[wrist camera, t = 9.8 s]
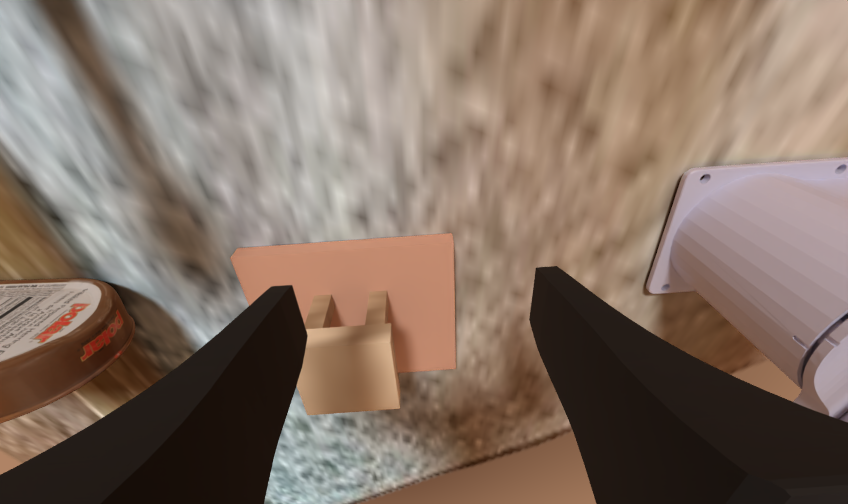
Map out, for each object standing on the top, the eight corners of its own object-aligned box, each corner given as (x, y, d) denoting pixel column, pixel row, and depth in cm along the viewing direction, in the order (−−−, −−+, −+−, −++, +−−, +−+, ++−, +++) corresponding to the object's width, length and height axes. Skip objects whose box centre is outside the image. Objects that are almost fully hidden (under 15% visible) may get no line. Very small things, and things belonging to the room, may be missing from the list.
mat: (451, 233, 21) (453, 242, 20) (454, 357, 26) (455, 368, 25) (237, 248, 21) (230, 257, 20) (283, 369, 26) (279, 381, 25)
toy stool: (393, 284, 21) (390, 342, 17) (400, 346, 24) (399, 408, 20) (305, 290, 21) (283, 349, 17) (323, 352, 24) (307, 415, 20)
